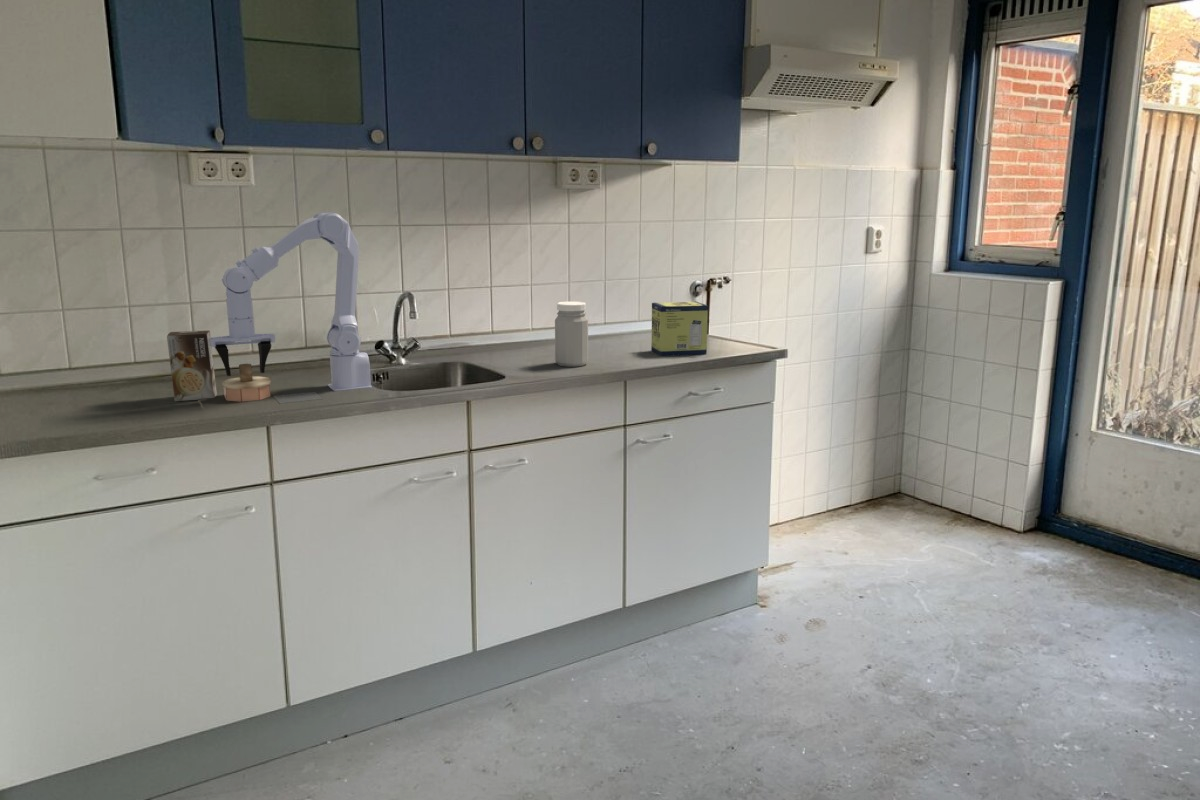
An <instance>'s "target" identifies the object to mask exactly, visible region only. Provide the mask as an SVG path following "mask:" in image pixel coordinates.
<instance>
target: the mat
mask: <svg viewBox="0 0 1200 800" xmlns="http://www.w3.org/2000/svg"><path fill="white" fill-rule="evenodd" d="M272 396H273V398H274V400H276V401H277V403H278V404H279V405H280V404H289V403H300V402H308V401H309V402H310V401H319V400H324V398H322V396H320V395H319V394H318V393H317V392H316V391H312V392H311V391H310V392H309V391H308V392H299V393H290V394H289V393H288V394H281V395H280V394H278V395H272Z"/></svg>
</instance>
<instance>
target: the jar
mask: <svg viewBox="0 0 1200 800" xmlns="http://www.w3.org/2000/svg"><path fill="white" fill-rule="evenodd" d="M586 309H587V303H586V302H583V301H577V300H576V301H572V300H571V301H570V300H569V301H559V302H558V303H556V310H557V313H556V314H557V316H556V318H555V319H554V353H555V354H554V360H555V363H556V364H557V365H558V366H560V367H567V368H568V367H569V368H570V367H571V368H573V367H574V368H575V367H576V368H577V367H582V366H585V365H586V364H587V363H588V361H589V318H588V317H587V315H586Z"/></svg>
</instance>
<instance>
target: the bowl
mask: <svg viewBox="0 0 1200 800" xmlns="http://www.w3.org/2000/svg"><path fill="white" fill-rule="evenodd" d="M270 385H271V383H270V384H269V385H266V386H263V387H257V388H249V389H229V388H224V387H223V394H224V398H225V400H226V401H228V402H238V403H239V402H242V403H243V402H252V401H259V400H263V399H266V398H269V397H271V386H270Z"/></svg>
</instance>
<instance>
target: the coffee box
mask: <svg viewBox="0 0 1200 800" xmlns="http://www.w3.org/2000/svg"><path fill="white" fill-rule="evenodd" d="M209 338H211V330H189V331H188V330H185V331H170V332H169V333H168V334H167V336H166V341H167V347H168V348H167V349H168V357H169V364H170V365H169V367H170V374H171V382H172V389H173V399H174V402H181V401H182V402H183V401H198V400H199V401H200V400H202V399H215V398H216V396H217V394H218V393H217V392H218V391H217V386H216V374H215V368H214V358H213V349H212V348H213V347H211V346H210V341H209Z"/></svg>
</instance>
